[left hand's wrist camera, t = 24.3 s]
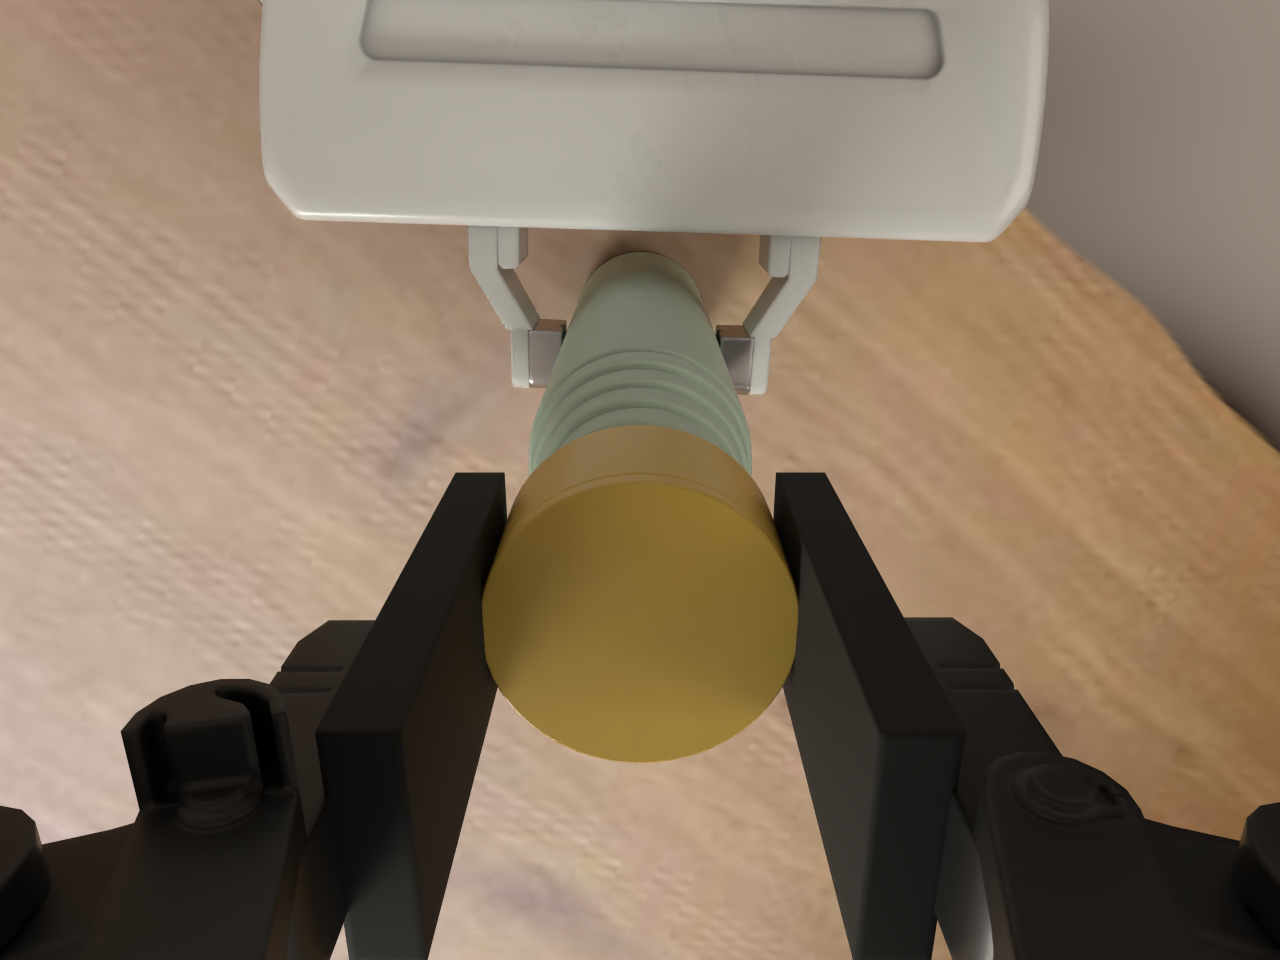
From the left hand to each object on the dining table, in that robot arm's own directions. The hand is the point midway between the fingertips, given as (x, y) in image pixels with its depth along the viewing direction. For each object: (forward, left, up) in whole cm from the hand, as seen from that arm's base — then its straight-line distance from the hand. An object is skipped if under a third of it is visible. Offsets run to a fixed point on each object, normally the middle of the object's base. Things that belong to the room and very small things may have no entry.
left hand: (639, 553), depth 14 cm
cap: (0, 0, +2) cm, 2 cm away
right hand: (-1, 0, -13) cm, 13 cm away
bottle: (0, 0, -20) cm, 20 cm away
